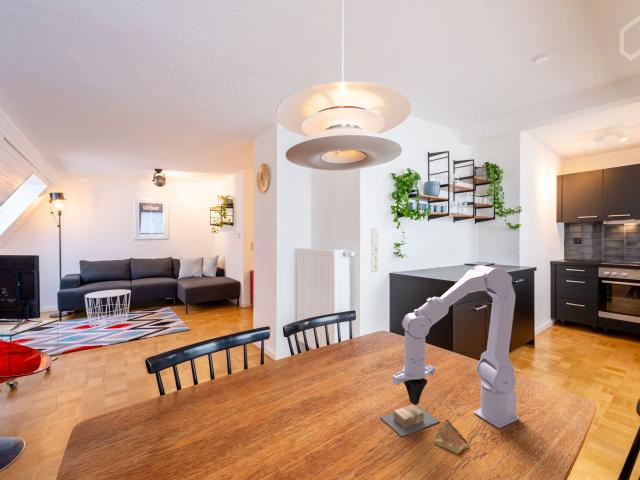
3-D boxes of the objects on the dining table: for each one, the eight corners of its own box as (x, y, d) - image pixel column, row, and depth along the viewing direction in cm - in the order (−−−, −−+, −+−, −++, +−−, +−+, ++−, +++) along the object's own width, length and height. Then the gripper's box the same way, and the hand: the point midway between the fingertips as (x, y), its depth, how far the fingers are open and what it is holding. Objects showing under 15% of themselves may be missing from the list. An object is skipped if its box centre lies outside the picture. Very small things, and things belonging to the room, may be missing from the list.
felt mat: (416, 405, 94) (416, 404, 94) (440, 421, 86) (440, 420, 86) (380, 418, 88) (380, 417, 88) (401, 437, 80) (402, 435, 80)
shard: (446, 424, 86) (446, 417, 86) (476, 436, 81) (476, 429, 81) (432, 444, 78) (432, 437, 78) (464, 459, 73) (464, 452, 73)
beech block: (412, 404, 90) (393, 410, 87) (423, 412, 86) (404, 419, 83) (412, 412, 90) (393, 419, 87) (423, 421, 86) (404, 428, 83)
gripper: (422, 347, 94) (422, 390, 94) (385, 355, 87) (385, 402, 88) (441, 355, 88) (440, 401, 88) (402, 365, 81) (402, 415, 81)
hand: (414, 402), depth 87 cm, fingers closed
